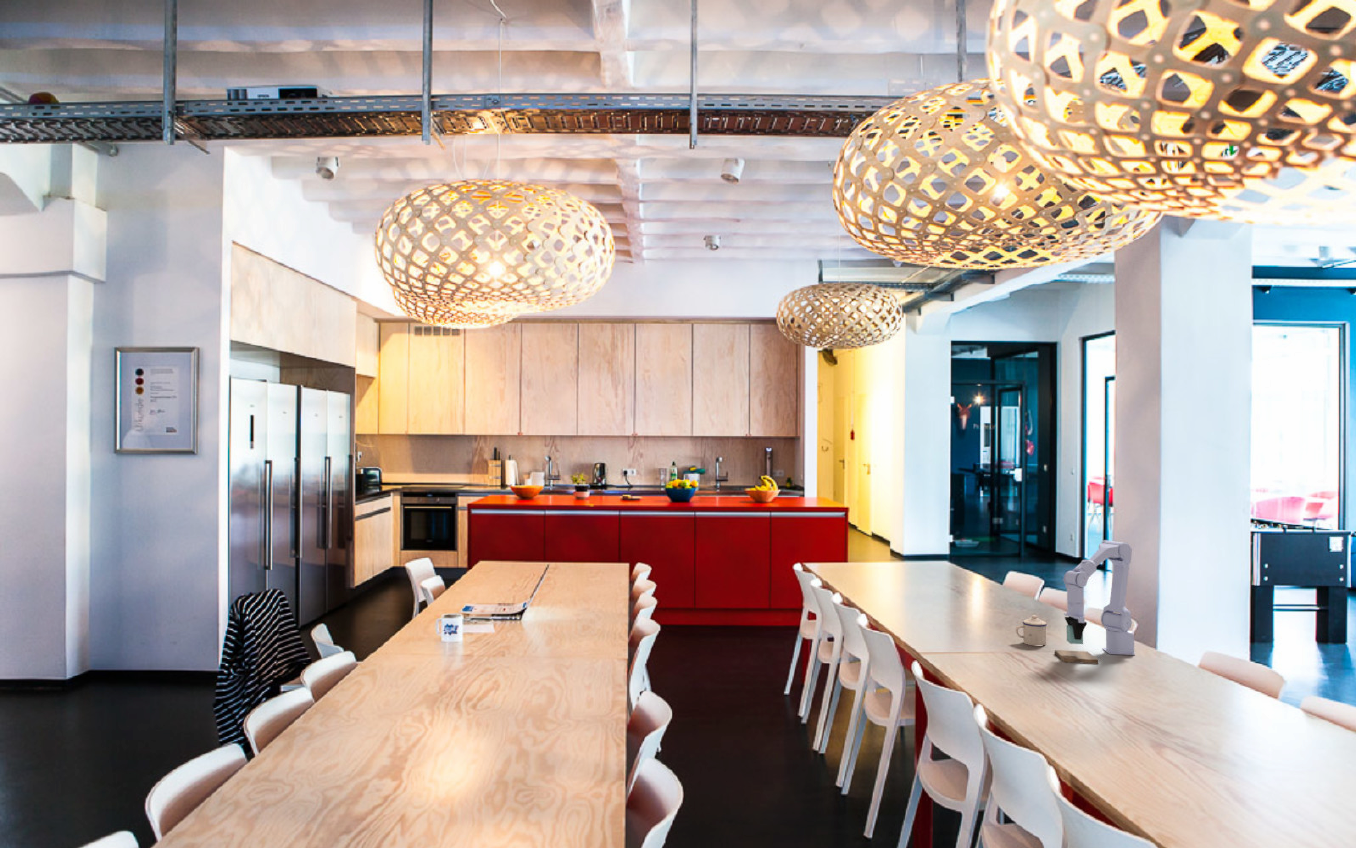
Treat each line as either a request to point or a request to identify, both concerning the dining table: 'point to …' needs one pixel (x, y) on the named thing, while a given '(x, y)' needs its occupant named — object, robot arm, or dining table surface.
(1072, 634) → the teal block
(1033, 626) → the teacup with lid
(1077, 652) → the walnut slab
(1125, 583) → the robot arm
